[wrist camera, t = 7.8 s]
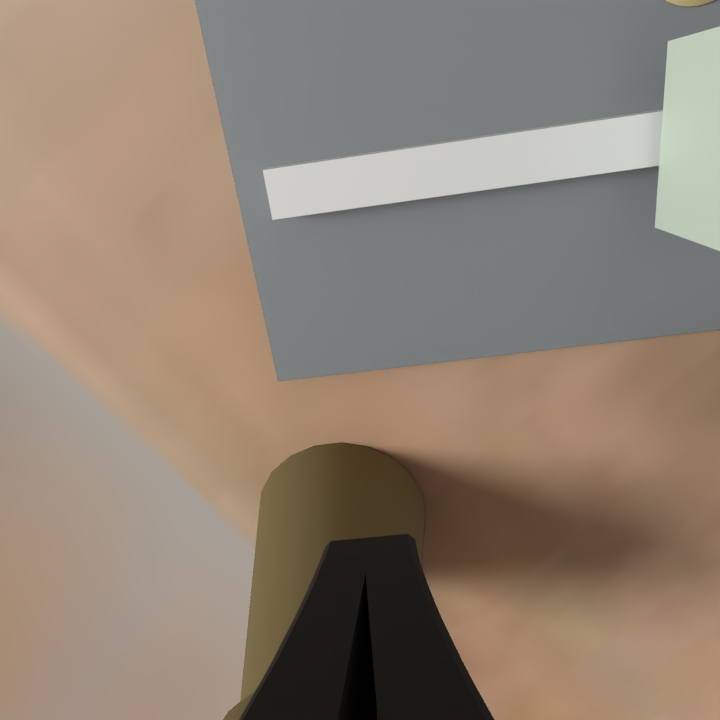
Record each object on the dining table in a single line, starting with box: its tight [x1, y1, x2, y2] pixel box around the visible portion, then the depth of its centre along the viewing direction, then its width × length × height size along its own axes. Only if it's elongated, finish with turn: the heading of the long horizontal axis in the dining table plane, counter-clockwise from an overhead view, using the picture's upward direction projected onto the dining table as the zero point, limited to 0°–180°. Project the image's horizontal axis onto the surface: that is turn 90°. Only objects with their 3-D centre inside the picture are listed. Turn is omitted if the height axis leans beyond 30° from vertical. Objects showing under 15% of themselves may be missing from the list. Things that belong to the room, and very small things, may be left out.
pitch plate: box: [195, 0, 720, 381], centre depth 12 cm, size 12×22×6 cm, turn 98°
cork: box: [223, 443, 425, 720], centre depth 15 cm, size 6×6×11 cm
